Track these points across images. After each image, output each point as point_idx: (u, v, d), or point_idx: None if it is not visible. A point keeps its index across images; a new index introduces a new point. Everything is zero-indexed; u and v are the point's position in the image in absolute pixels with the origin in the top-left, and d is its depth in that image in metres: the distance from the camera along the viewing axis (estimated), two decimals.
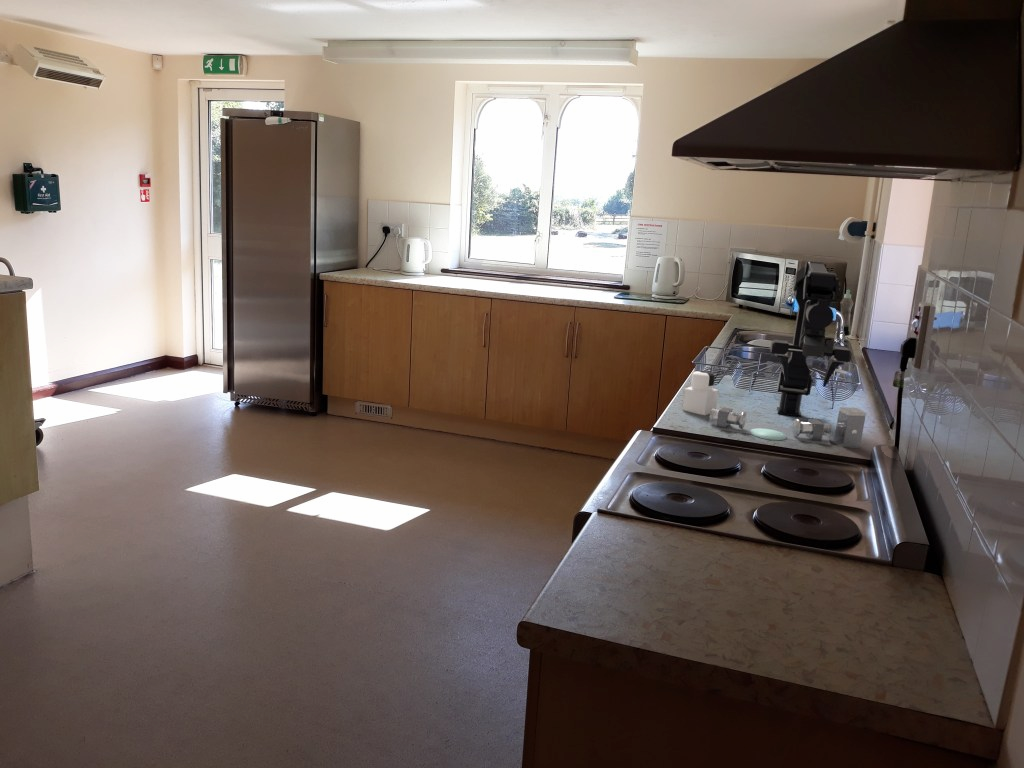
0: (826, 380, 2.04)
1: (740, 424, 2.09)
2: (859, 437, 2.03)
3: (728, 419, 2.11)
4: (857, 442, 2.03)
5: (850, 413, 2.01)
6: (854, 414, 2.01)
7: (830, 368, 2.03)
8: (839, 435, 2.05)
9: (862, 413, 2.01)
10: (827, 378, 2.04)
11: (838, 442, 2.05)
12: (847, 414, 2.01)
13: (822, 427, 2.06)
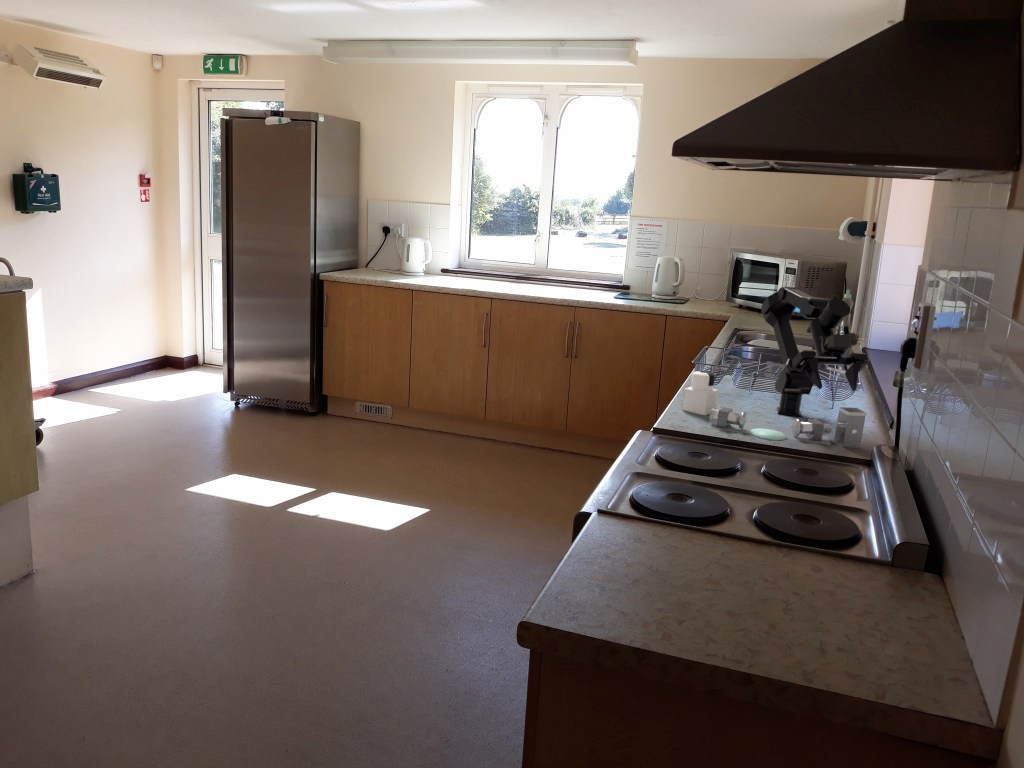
0: (855, 382, 2.11)
1: (740, 424, 2.09)
2: (859, 437, 2.03)
3: (728, 419, 2.11)
4: (857, 442, 2.03)
5: (850, 413, 2.01)
6: (854, 414, 2.01)
7: (854, 370, 2.12)
8: (839, 435, 2.05)
9: (862, 413, 2.01)
10: (855, 380, 2.11)
11: (838, 442, 2.05)
12: (847, 414, 2.01)
13: (822, 427, 2.06)
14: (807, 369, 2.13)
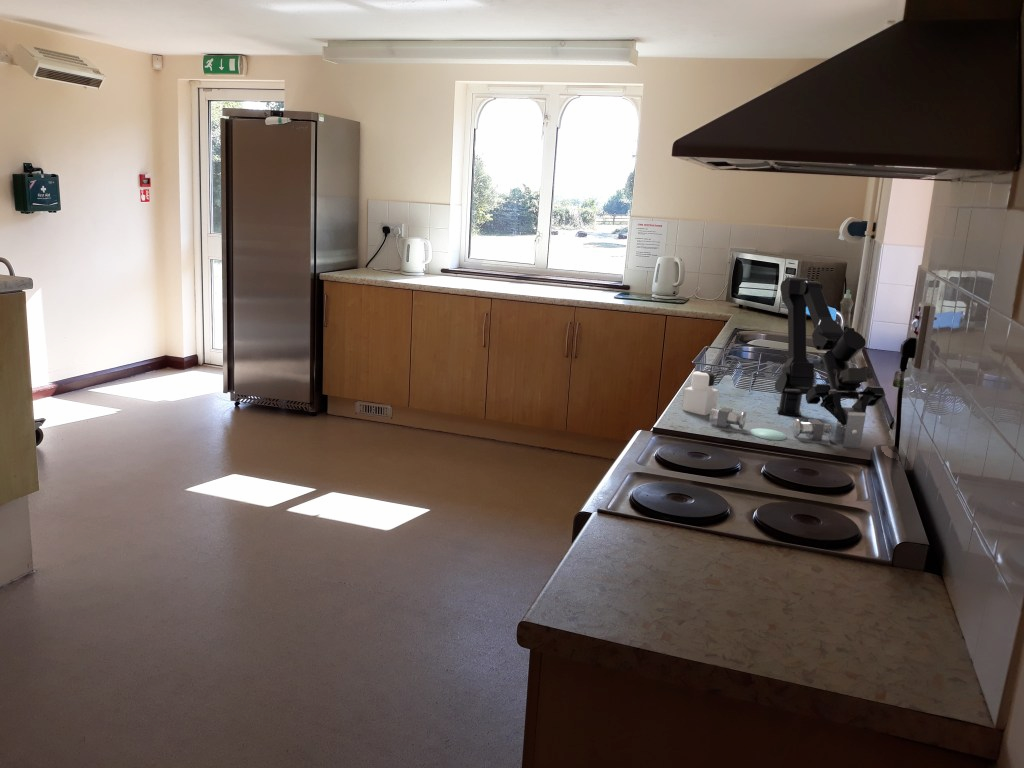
0: None
1: (740, 424, 2.09)
2: (859, 437, 2.03)
3: (728, 419, 2.11)
4: (857, 442, 2.03)
5: (850, 413, 2.01)
6: (854, 414, 2.01)
7: (862, 404, 2.04)
8: (839, 435, 2.05)
9: (862, 413, 2.01)
10: None
11: (838, 442, 2.05)
12: (847, 414, 2.01)
13: (822, 427, 2.06)
14: (829, 404, 2.06)
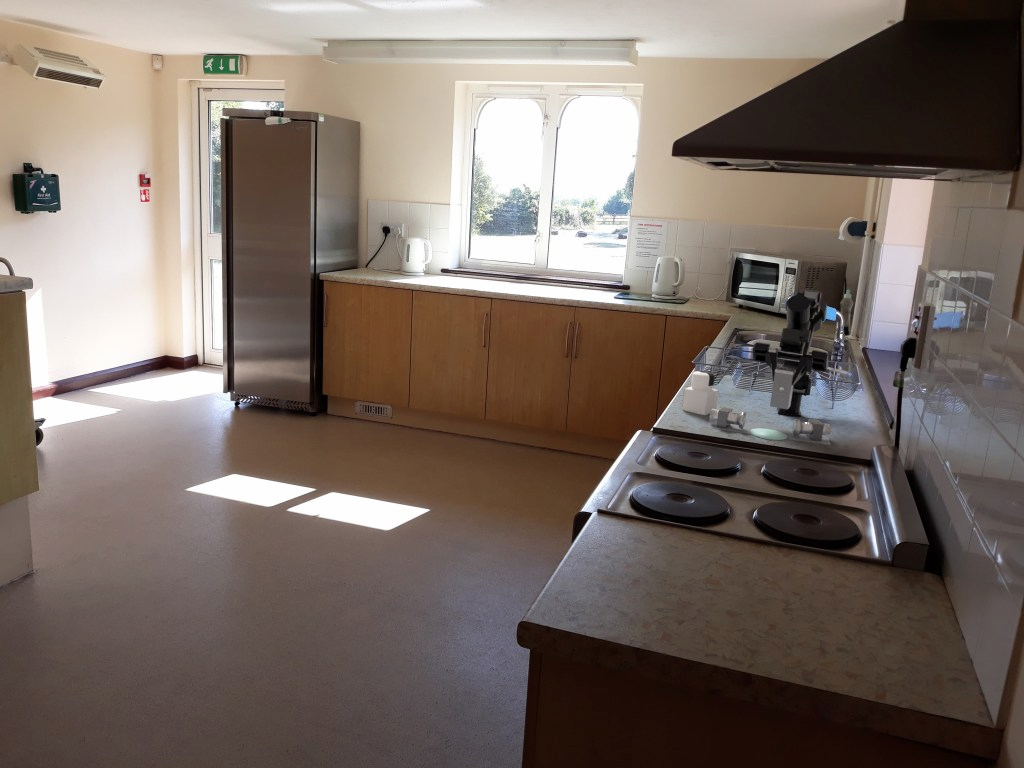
0: (794, 377, 2.12)
1: (740, 424, 2.09)
2: (787, 395, 2.12)
3: (728, 419, 2.11)
4: (785, 400, 2.12)
5: (776, 370, 2.12)
6: (781, 372, 2.11)
7: (799, 365, 2.12)
8: None
9: (789, 372, 2.10)
10: (795, 375, 2.12)
11: None
12: (775, 371, 2.12)
13: (822, 427, 2.06)
14: None
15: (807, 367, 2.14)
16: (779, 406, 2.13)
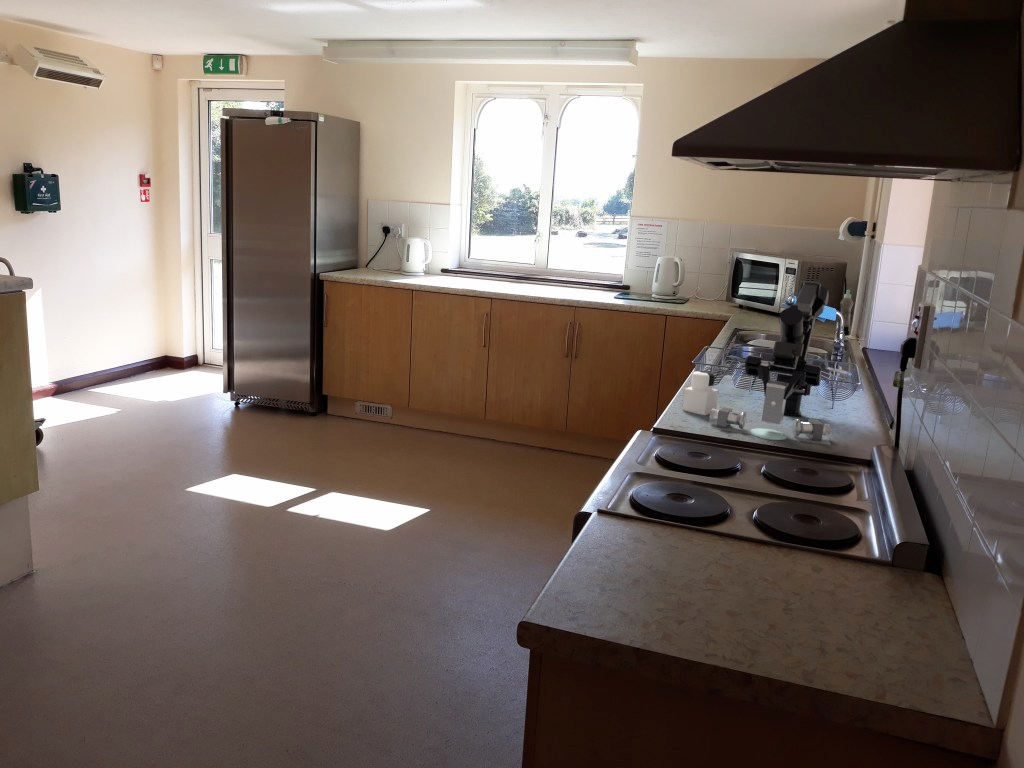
0: (787, 391, 2.07)
1: (740, 424, 2.09)
2: (779, 410, 2.07)
3: (728, 419, 2.11)
4: (777, 414, 2.08)
5: (768, 384, 2.07)
6: (772, 386, 2.07)
7: (791, 379, 2.08)
8: None
9: (781, 386, 2.06)
10: (788, 389, 2.07)
11: None
12: None
13: (822, 427, 2.06)
14: None
15: (799, 382, 2.10)
16: (771, 420, 2.09)
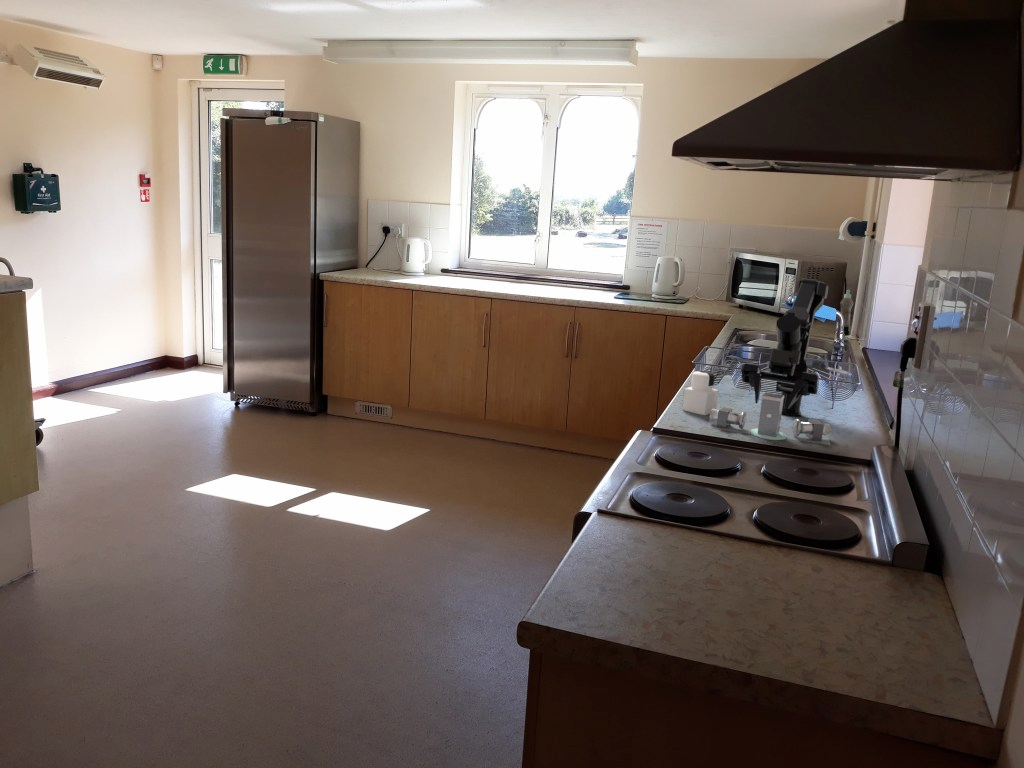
0: (789, 400, 2.04)
1: (740, 424, 2.09)
2: (775, 422, 2.05)
3: (728, 419, 2.11)
4: (773, 427, 2.06)
5: (763, 397, 2.05)
6: (768, 398, 2.05)
7: (794, 388, 2.05)
8: None
9: (777, 398, 2.04)
10: (791, 398, 2.04)
11: None
12: (762, 398, 2.06)
13: (822, 427, 2.06)
14: None
15: (802, 391, 2.07)
16: (767, 433, 2.07)
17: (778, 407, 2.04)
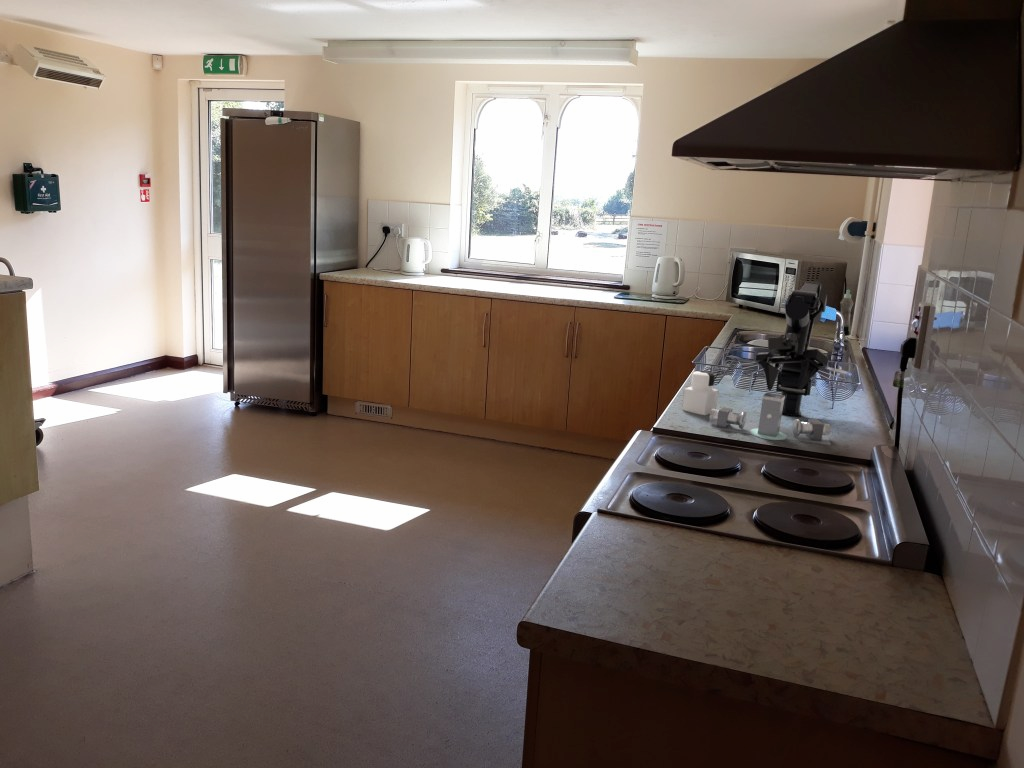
0: (799, 381, 2.11)
1: (740, 424, 2.09)
2: (775, 423, 2.05)
3: (728, 419, 2.11)
4: (773, 427, 2.06)
5: (764, 397, 2.05)
6: (768, 398, 2.05)
7: (802, 369, 2.11)
8: None
9: (777, 399, 2.04)
10: (800, 379, 2.11)
11: None
12: None
13: (822, 427, 2.06)
14: None
15: (814, 367, 2.11)
16: (767, 433, 2.07)
17: (779, 407, 2.04)
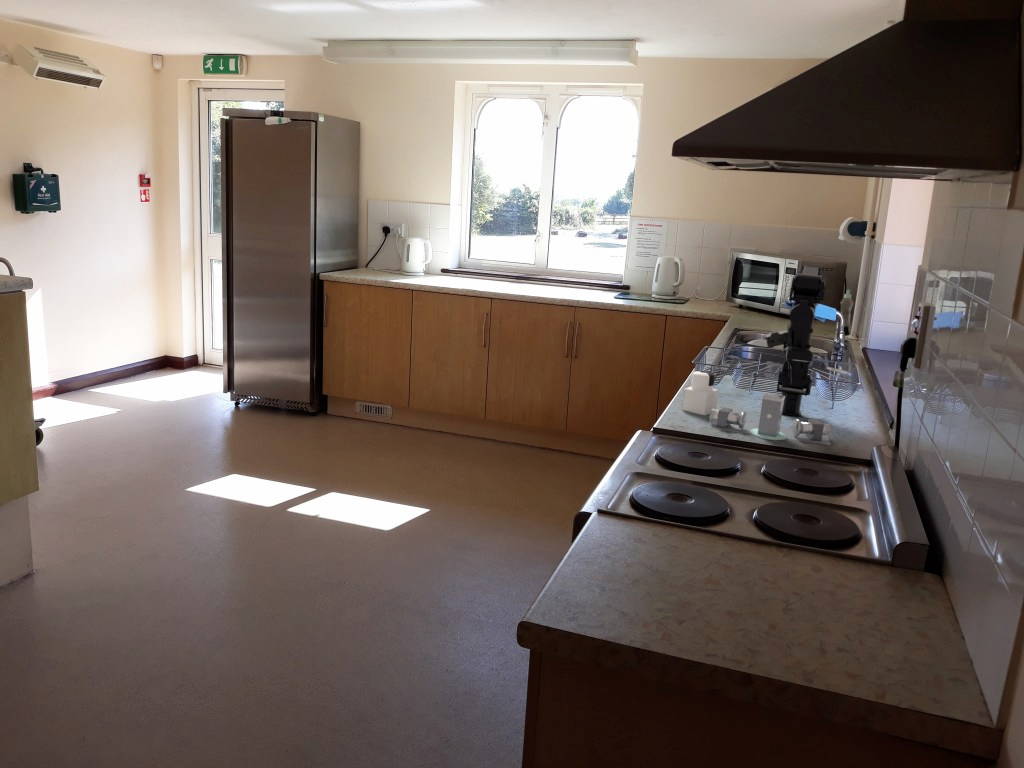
0: (791, 377, 2.12)
1: (740, 424, 2.09)
2: (775, 423, 2.05)
3: (728, 419, 2.11)
4: (773, 427, 2.06)
5: (764, 397, 2.05)
6: (768, 398, 2.05)
7: None
8: None
9: (777, 399, 2.04)
10: (791, 375, 2.12)
11: None
12: (763, 398, 2.06)
13: (822, 427, 2.06)
14: None
15: (802, 362, 2.09)
16: (767, 433, 2.07)
17: (779, 407, 2.04)
